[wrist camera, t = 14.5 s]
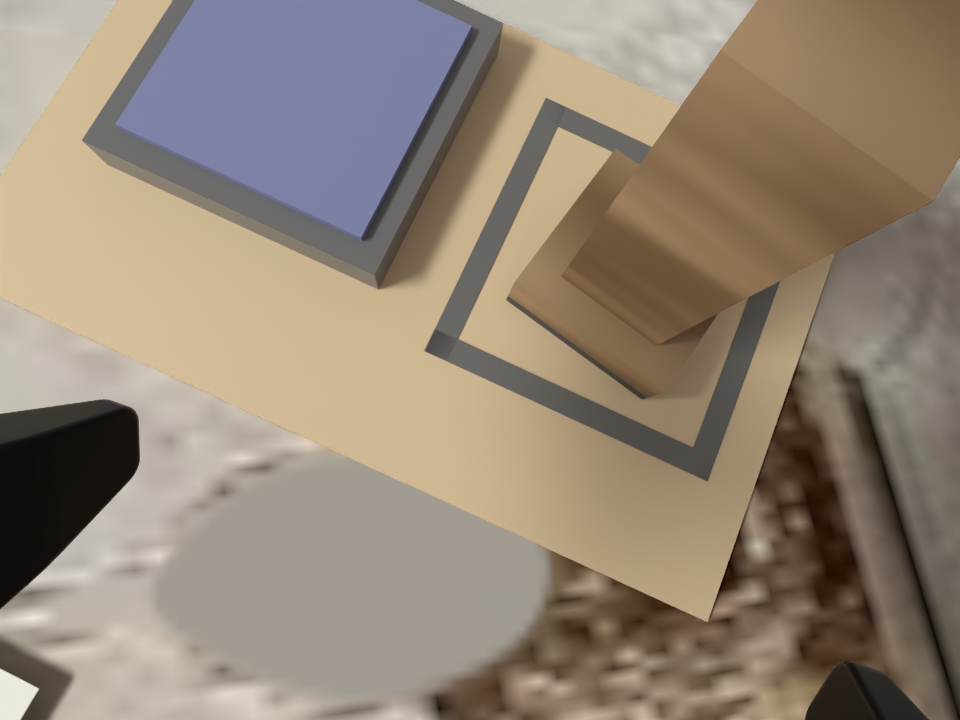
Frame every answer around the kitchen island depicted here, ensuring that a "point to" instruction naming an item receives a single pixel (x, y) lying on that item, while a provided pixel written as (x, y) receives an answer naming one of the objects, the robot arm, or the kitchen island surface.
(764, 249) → the walnut stamp
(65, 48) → the kitchen island surface
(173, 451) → the kitchen island surface
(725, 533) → the board
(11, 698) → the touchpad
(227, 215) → the ink pad
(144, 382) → the kitchen island surface
